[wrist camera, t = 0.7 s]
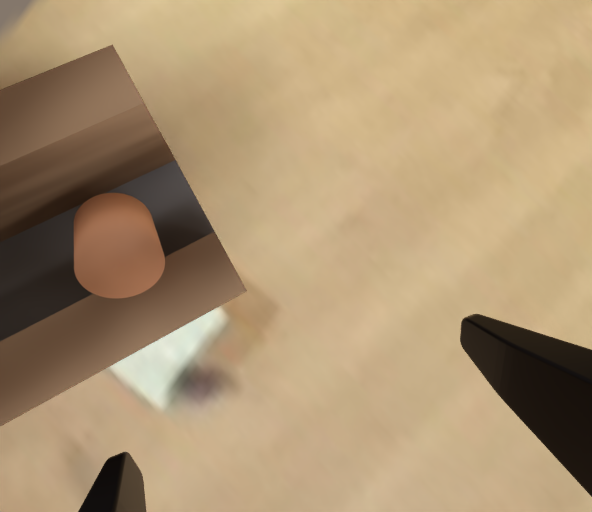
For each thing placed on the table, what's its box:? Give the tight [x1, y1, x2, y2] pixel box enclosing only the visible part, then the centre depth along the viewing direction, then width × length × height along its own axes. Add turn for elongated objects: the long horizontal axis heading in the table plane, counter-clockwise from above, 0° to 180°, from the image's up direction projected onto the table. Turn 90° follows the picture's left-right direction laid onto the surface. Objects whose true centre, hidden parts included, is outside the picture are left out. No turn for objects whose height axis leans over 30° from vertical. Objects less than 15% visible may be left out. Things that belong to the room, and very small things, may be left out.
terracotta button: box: [74, 193, 165, 299], centre depth 15 cm, size 4×3×4 cm
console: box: [0, 45, 247, 426], centre depth 16 cm, size 10×16×9 cm, turn 119°
